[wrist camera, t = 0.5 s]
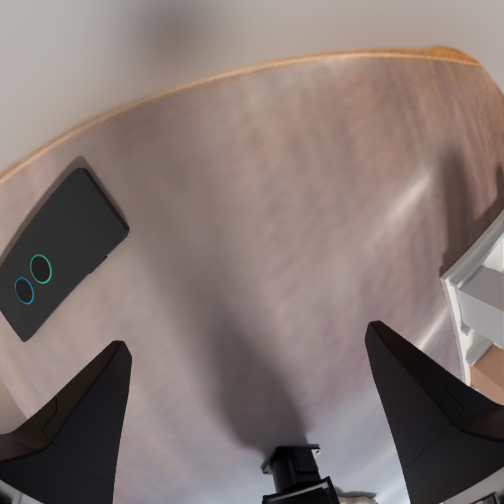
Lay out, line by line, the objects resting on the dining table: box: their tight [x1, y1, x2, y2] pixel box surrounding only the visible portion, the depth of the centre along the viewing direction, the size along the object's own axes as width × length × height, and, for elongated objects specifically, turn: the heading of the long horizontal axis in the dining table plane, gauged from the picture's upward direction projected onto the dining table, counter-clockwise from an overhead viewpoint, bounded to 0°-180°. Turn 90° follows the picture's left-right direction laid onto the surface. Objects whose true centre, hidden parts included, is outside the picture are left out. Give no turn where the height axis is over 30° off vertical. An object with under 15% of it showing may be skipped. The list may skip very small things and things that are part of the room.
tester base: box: [440, 209, 504, 391], centre depth 28 cm, size 17×25×5 cm
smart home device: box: [0, 168, 129, 342], centre depth 23 cm, size 8×2×20 cm
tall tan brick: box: [470, 344, 504, 405], centre depth 25 cm, size 5×6×11 cm
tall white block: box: [456, 265, 504, 348], centre depth 22 cm, size 5×6×11 cm
